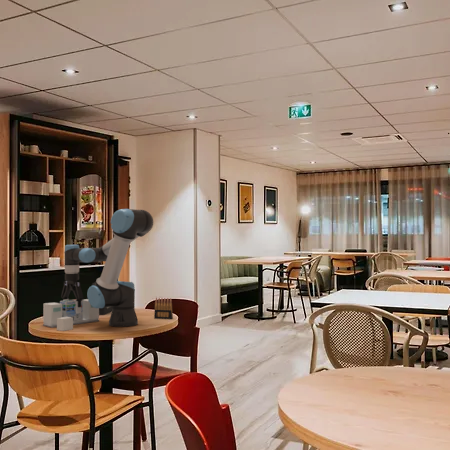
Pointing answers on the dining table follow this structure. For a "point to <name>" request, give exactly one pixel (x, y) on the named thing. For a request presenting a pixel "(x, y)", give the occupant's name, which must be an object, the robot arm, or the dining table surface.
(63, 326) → the block
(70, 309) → the light bulb box
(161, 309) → the ammunition clip
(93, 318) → the rail assembly
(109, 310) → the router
